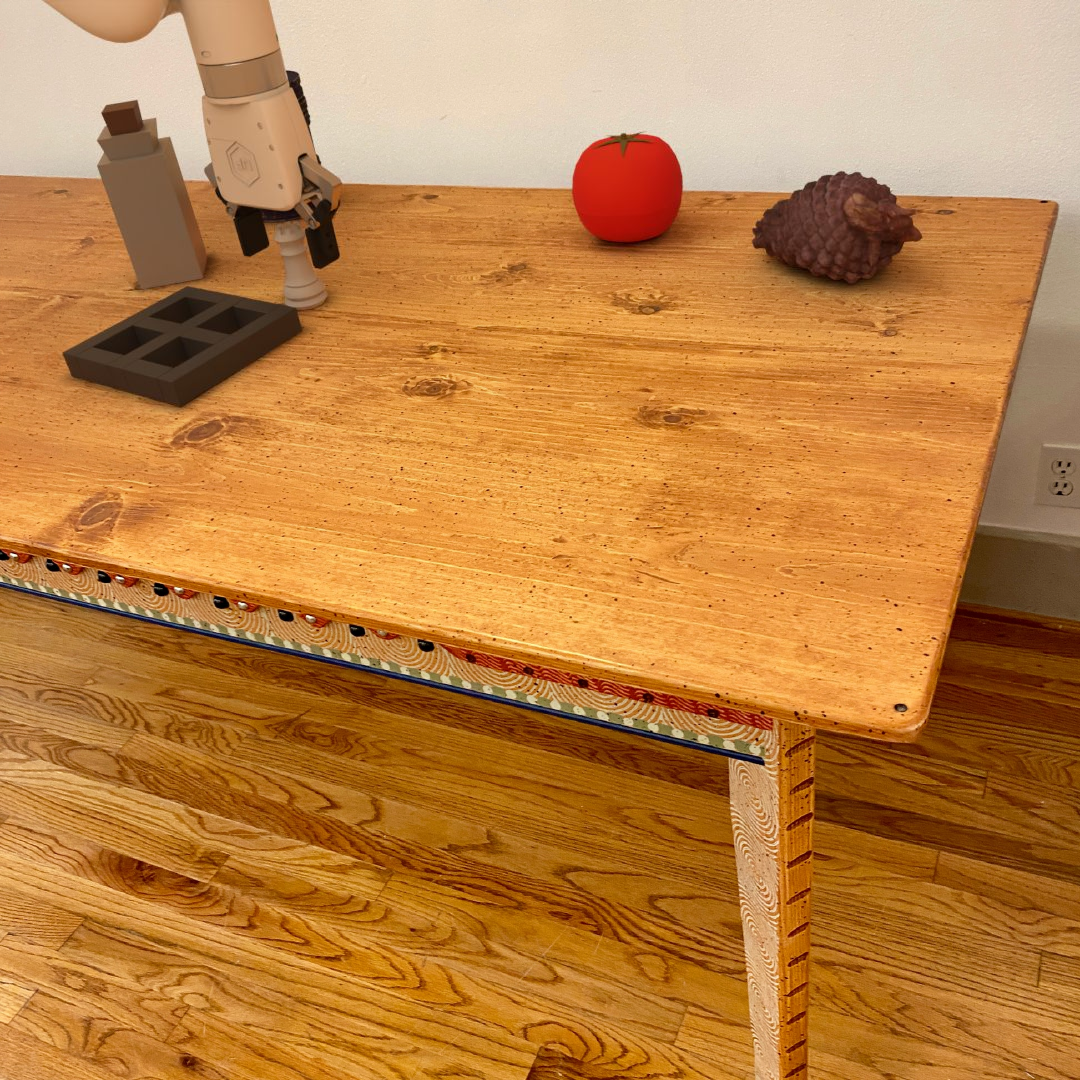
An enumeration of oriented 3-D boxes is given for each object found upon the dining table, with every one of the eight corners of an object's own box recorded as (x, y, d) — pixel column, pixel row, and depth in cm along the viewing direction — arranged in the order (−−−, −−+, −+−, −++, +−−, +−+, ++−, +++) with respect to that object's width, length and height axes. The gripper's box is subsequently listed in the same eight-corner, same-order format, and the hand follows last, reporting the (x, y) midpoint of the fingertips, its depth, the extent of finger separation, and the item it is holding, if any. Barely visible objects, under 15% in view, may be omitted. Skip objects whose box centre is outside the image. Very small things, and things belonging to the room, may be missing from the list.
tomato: (684, 211, 118) (680, 111, 112) (685, 255, 109) (680, 148, 102) (581, 219, 120) (571, 121, 114) (573, 263, 110) (562, 159, 104)
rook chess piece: (276, 305, 111) (255, 229, 106) (313, 289, 113) (293, 214, 108) (300, 315, 108) (280, 238, 103) (337, 299, 110) (318, 222, 105)
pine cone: (720, 279, 103) (731, 172, 102) (783, 296, 109) (794, 195, 109) (886, 268, 90) (900, 143, 89) (947, 287, 96) (961, 172, 95)
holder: (71, 376, 103) (61, 352, 101) (194, 308, 113) (187, 285, 111) (180, 407, 95) (171, 382, 94) (302, 331, 105) (296, 307, 103)
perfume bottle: (207, 256, 125) (156, 92, 114) (202, 278, 119) (148, 109, 109) (148, 266, 124) (91, 103, 114) (141, 289, 119) (80, 120, 108)
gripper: (149, 84, 100) (204, 261, 110) (283, 92, 91) (330, 284, 101) (209, 62, 104) (257, 234, 114) (342, 68, 96) (381, 253, 106)
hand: (291, 257), depth 108 cm, fingers open, 9 cm apart
